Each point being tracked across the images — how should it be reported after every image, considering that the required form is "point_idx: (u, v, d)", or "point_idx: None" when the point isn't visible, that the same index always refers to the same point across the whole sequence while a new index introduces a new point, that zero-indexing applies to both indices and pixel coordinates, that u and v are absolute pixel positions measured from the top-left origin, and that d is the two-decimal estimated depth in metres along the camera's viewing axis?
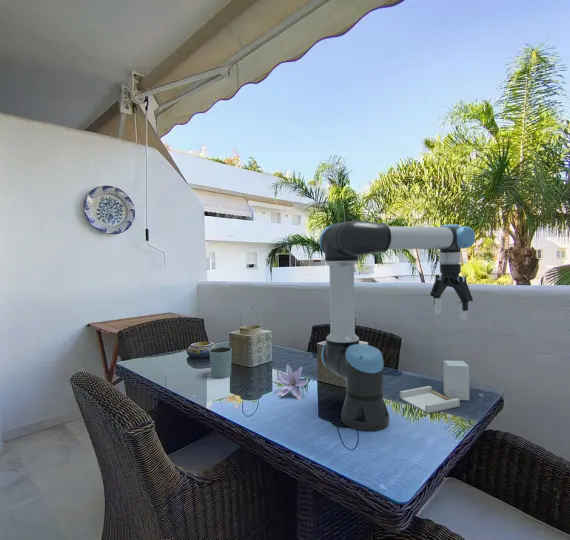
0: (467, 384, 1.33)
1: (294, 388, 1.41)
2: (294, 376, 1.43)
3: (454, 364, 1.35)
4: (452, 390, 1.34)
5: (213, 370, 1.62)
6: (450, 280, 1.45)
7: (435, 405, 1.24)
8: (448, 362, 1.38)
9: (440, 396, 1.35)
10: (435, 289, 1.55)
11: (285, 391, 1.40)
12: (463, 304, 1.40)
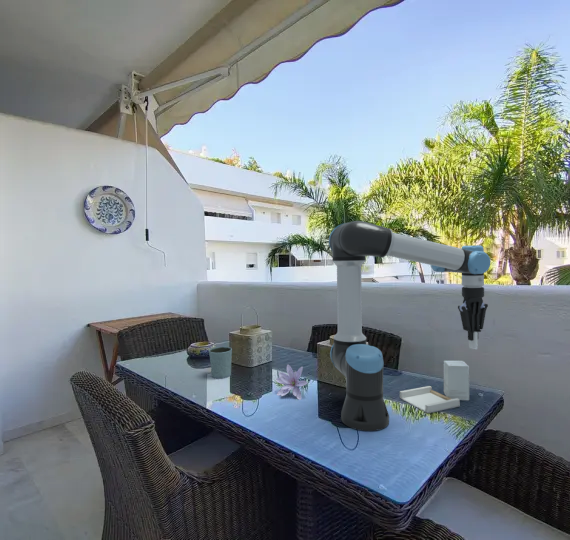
0: (467, 384, 1.33)
1: (294, 388, 1.41)
2: (294, 376, 1.43)
3: (454, 364, 1.35)
4: (452, 390, 1.34)
5: (213, 370, 1.62)
6: None
7: (435, 405, 1.24)
8: (448, 362, 1.38)
9: (440, 396, 1.35)
10: None
11: (285, 391, 1.40)
12: None
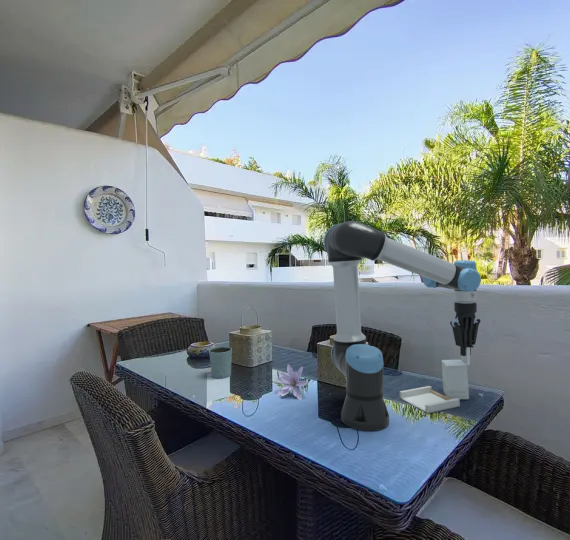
0: (466, 383, 1.33)
1: (295, 388, 1.41)
2: (295, 376, 1.42)
3: (452, 364, 1.35)
4: (451, 390, 1.34)
5: (213, 370, 1.62)
6: None
7: (435, 405, 1.24)
8: (446, 362, 1.38)
9: (440, 396, 1.35)
10: None
11: (286, 391, 1.40)
12: None
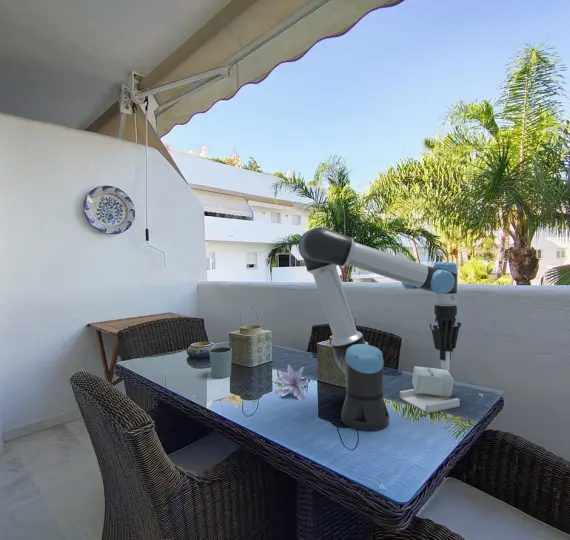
0: (437, 379, 1.33)
1: (295, 388, 1.41)
2: (295, 376, 1.42)
3: (415, 383, 1.37)
4: (441, 392, 1.34)
5: (213, 370, 1.62)
6: None
7: (435, 405, 1.24)
8: (413, 384, 1.39)
9: (440, 396, 1.35)
10: None
11: (286, 391, 1.40)
12: None
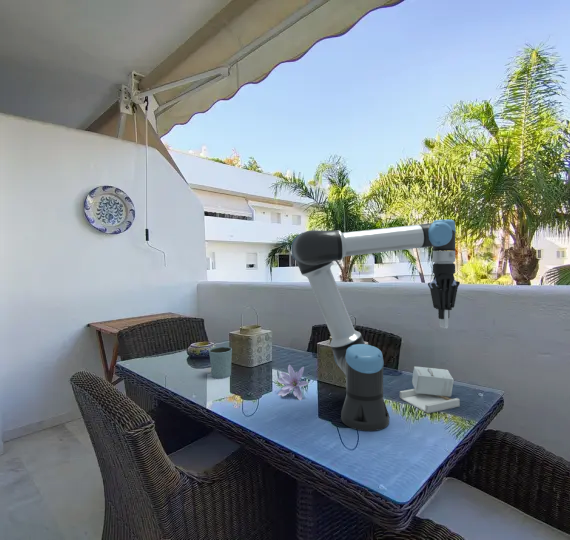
0: (437, 379, 1.33)
1: (295, 388, 1.41)
2: (295, 376, 1.42)
3: (415, 384, 1.37)
4: (441, 392, 1.34)
5: (213, 370, 1.62)
6: None
7: (435, 405, 1.24)
8: (413, 384, 1.39)
9: (440, 396, 1.35)
10: None
11: (286, 391, 1.40)
12: None
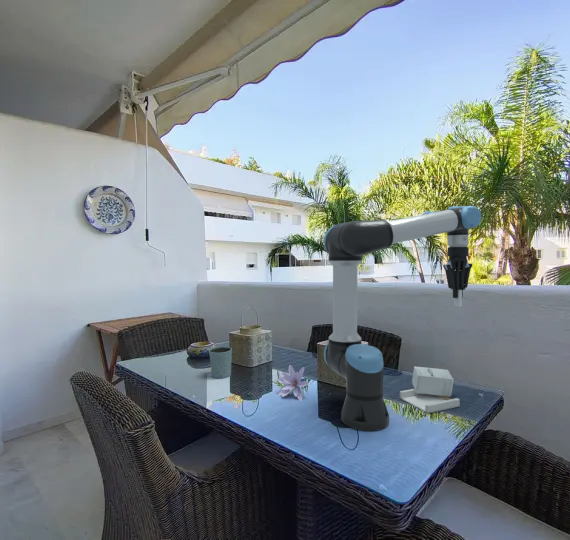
0: (437, 379, 1.33)
1: (296, 389, 1.41)
2: (296, 376, 1.42)
3: (415, 384, 1.37)
4: (441, 392, 1.34)
5: (213, 370, 1.62)
6: None
7: (435, 405, 1.24)
8: (413, 384, 1.39)
9: (440, 396, 1.35)
10: None
11: (287, 391, 1.40)
12: None
